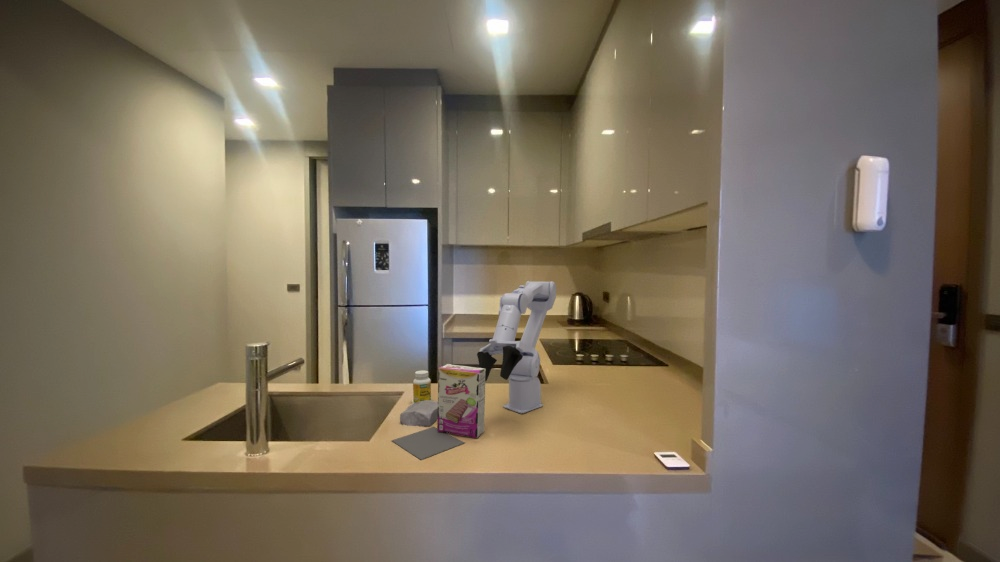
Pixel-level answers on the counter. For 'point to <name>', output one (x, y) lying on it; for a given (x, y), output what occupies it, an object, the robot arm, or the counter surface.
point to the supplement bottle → (421, 386)
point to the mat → (427, 443)
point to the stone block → (420, 414)
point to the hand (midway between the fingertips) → (492, 379)
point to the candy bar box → (461, 400)
